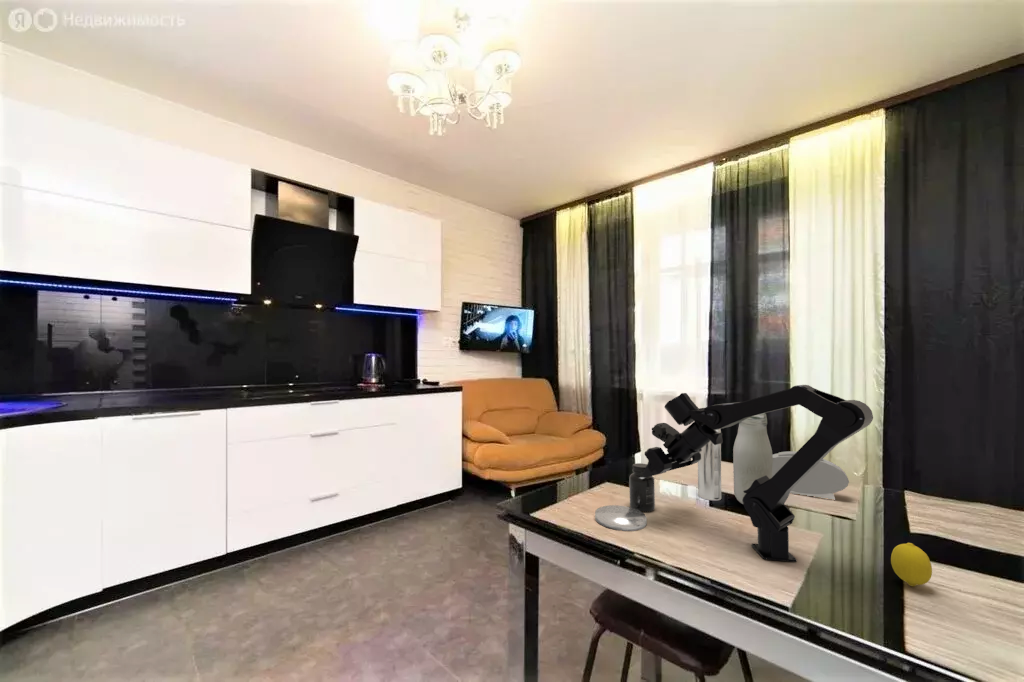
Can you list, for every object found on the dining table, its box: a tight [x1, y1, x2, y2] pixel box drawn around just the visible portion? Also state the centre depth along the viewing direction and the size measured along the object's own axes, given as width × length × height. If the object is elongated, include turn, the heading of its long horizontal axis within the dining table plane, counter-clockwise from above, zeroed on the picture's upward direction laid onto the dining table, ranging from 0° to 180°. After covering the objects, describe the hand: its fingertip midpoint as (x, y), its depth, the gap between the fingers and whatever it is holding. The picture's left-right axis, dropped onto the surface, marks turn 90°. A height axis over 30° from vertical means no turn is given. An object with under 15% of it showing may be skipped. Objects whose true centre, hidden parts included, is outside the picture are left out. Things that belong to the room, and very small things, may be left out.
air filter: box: [697, 429, 722, 501], centre depth 125 cm, size 6×6×25 cm
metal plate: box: [594, 504, 648, 532], centre depth 106 cm, size 13×13×2 cm
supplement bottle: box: [628, 462, 656, 513], centre depth 115 cm, size 7×7×12 cm
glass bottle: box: [732, 413, 773, 505], centre depth 117 cm, size 10×10×28 cm
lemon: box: [890, 542, 933, 587], centre depth 77 cm, size 6×6×8 cm
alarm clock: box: [772, 450, 850, 501], centre depth 129 cm, size 23×6×13 cm, turn 57°
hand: (654, 472), depth 112 cm, fingers open, 9 cm apart
